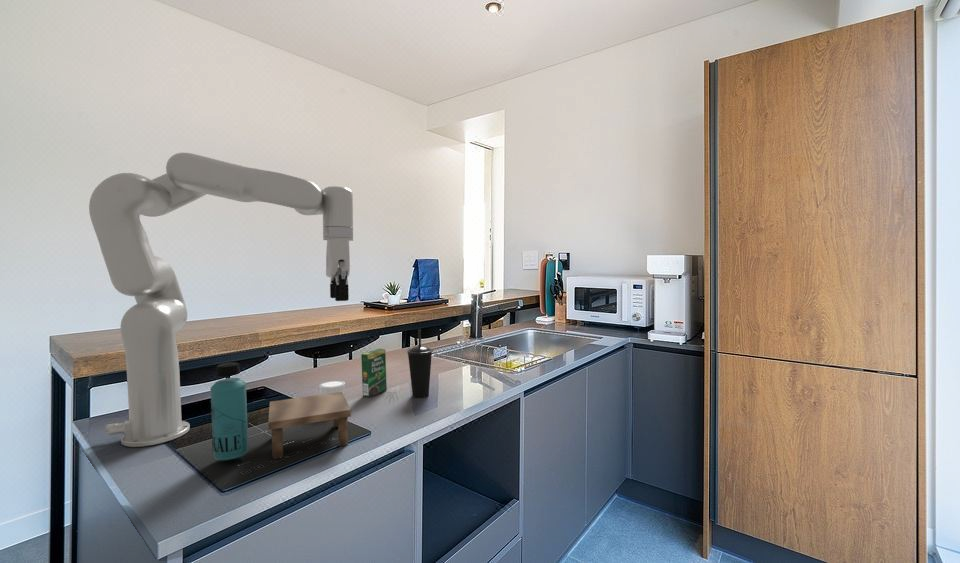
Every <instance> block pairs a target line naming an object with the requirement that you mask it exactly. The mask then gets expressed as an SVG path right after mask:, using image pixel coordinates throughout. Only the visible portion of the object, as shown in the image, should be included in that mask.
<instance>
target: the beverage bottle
mask: <svg viewBox="0 0 960 563" xmlns="http://www.w3.org/2000/svg"><path fill="white" fill-rule="evenodd" d="M240 368H241V367H240V363H238V362H224V363H220V364H218V365H216V369H215V370H216V373H215V376H216V377H220V378H222V379H220V380H217V381H216V382H214V384H213V385H212V386H210V397H211V398H210V405H211V406H210V413H211V420H210V421H211V423H210V424H211V426H210V427H211V438H212V439H211V444H212V445H211V449H212V452H211V453H212V456H213V458H214V459H215V460H217V461H229V460H234V459H237V458H240V457H242V456H244V455H245V454H247V453H248V451H249V448H250V447H249V428H248V427H249V426H248V424H249V422H248V407H247V382H246V381H244V379H242V378H239V377H232V376H236V375H239V374H241V369H240ZM225 377H227V378H225Z"/></svg>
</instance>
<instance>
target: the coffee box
mask: <svg viewBox="0 0 960 563" xmlns="http://www.w3.org/2000/svg"><path fill="white" fill-rule="evenodd" d="M386 355H387V354H386V349H384V348H376V349H374V350H370V351H367V352H365V353H362V354H361V379H362V384H361V385H362V397H364V398H371V397H374V396H376V395H378V394H381V393H383V392H386V391H387V390H388V387H387V386H388V385H387V360H386V359H387V358H386V357H387V356H386Z"/></svg>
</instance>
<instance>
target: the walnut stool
mask: <svg viewBox="0 0 960 563" xmlns="http://www.w3.org/2000/svg"><path fill="white" fill-rule="evenodd" d="M351 416H352V410H351V408H350V406H349V404H348V402H347V400H346V397H344V395H343V393H342V392H336V393H329V394H322V395H320V394H317V395H310V396H301V397H295V398H294V397H293V398H287V399H281V400H280V399H279V400H272V401H269V409H268V422H267V423H268V431H270V430H271V447H272V448H271V451H272V452H271V453H272V456H271V457H272V460H278V459H277V458H280V457H282V456H283V457H284V441H283V440H284V428H288V427H296V426H301V425H306V424H307V425H308V424H313V423H314V424H315V423H319V422H325V421H331V420H332V428H333V427H338V428H337V429H338V430H337V433H338V434H337V435H338V437H337V438H338V446H339V445H340V446H339V447H345V446H347V445H348V444H349V426H348V424H349V423H348V422H349V420H348V418H349V417H351ZM283 457H282V458H283ZM280 459H281V458H280Z"/></svg>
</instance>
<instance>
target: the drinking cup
mask: <svg viewBox="0 0 960 563" xmlns="http://www.w3.org/2000/svg"><path fill="white" fill-rule="evenodd" d="M417 330H418V345H417V346H413V347H411V348H409V349H407V350H406V353H407V356H408V365H409V366H408V367H409V376H410V384H411V393H412V395H411V396H412V397H413V398H415V399H417V398H418V399H419V398H421V399H422V398H426V397H428V396H429V394H430V383H431V382H430V380H431V371H432V370H431V368H432V366H431V365H432V355H433V354H432V353H433V350H434V349H432V348H430V347H428V346H424V345H422V334H421V332H422V329H421V328H418V329H417Z"/></svg>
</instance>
